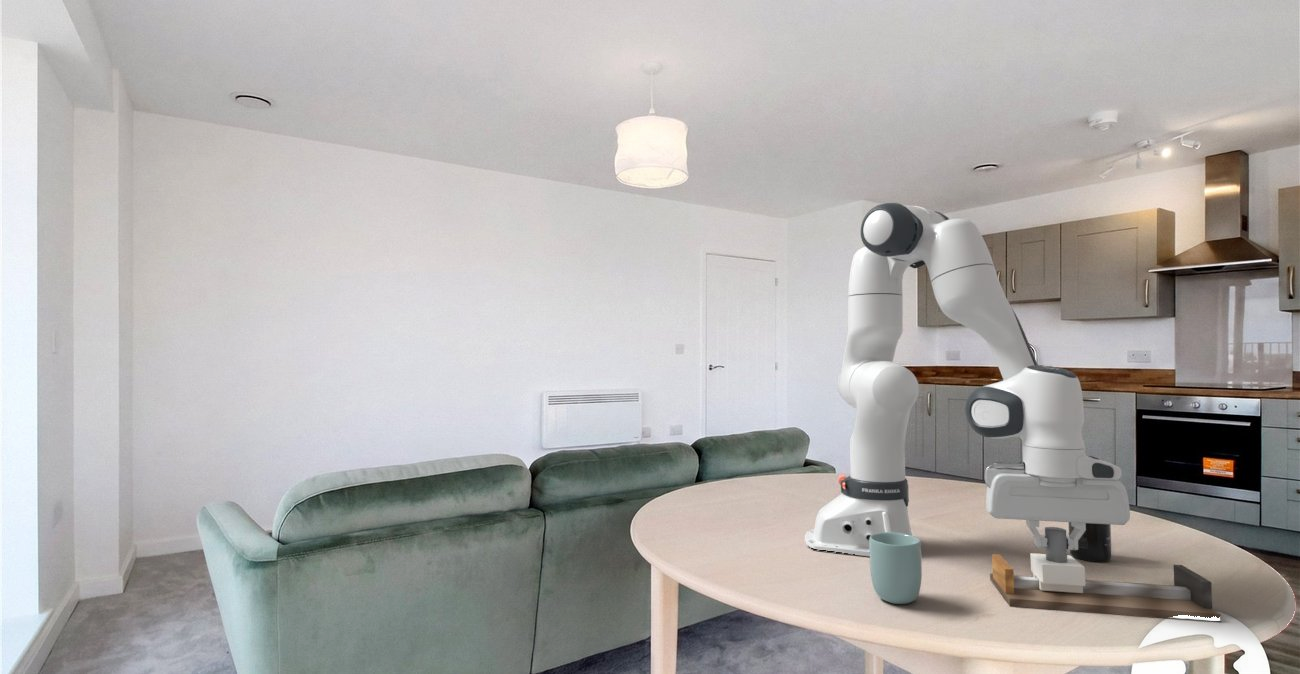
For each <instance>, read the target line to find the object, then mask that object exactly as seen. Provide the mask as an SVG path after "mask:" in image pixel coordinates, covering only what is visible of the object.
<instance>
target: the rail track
mask: <svg viewBox="0 0 1300 674" xmlns="http://www.w3.org/2000/svg"><path fill="white" fill-rule="evenodd" d="M991 561H992V563H991V564H992V573H989V581H990V582H991V584H992V585H993V586H994V587H995V589H996V590H997V591H998V593H999V594H1000V595H1001V597H1002V598H1003V599H1004V601H1005V602H1006V603H1007V605H1008V606H1009V607H1015V608H1029V609H1039V610H1040V609H1042V610H1056V611H1067V612H1083V613H1096V614H1106V615H1107V614H1108V615H1121V616H1132V617H1133V616H1135V617H1147V618H1157V619H1158V618H1159V619H1161V618H1162V619H1169V618H1168V617H1173V616H1178V615H1188V616H1189V615H1190V616H1194V617H1195V616H1196V617H1197V616H1200V617H1205V618H1206V617H1207V618H1208V617H1209V618H1211V617H1213V616H1214V617H1215V616H1216V617H1217V618H1219V617H1220V616H1222V615H1221V613H1219V612H1218V611H1216V610H1215V609H1213V592H1212V591H1213V590H1212V581H1210V580H1208V579H1207V578H1205V577H1203V576H1201V575H1200V574H1198V573H1197V572H1194V571H1193V570H1191V569H1189V568H1188V567H1186V566H1184V565H1182V564H1173V565H1172V566H1173V568H1172V569H1173V585H1171V584H1159V583H1158V584H1157V583H1143V582H1126V581H1125V582H1124V581H1111V580H1097V579H1085V586H1083V593H1074V592H1059V591H1045V590H1040V589H1039V579H1038V578H1037V577H1033V575H1019V574H1014V569H1013V567H1012V566H1011V565H1010V564H1009V563H1008V562H1007V560H1006V559H1004V558H1003V556H1002V555H1001V554H998V553H995V554H994V553H991Z"/></svg>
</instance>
